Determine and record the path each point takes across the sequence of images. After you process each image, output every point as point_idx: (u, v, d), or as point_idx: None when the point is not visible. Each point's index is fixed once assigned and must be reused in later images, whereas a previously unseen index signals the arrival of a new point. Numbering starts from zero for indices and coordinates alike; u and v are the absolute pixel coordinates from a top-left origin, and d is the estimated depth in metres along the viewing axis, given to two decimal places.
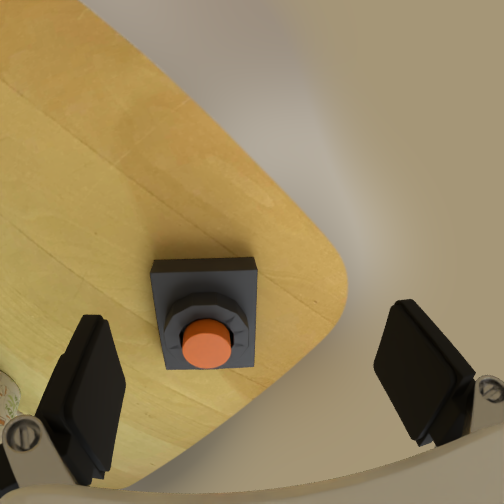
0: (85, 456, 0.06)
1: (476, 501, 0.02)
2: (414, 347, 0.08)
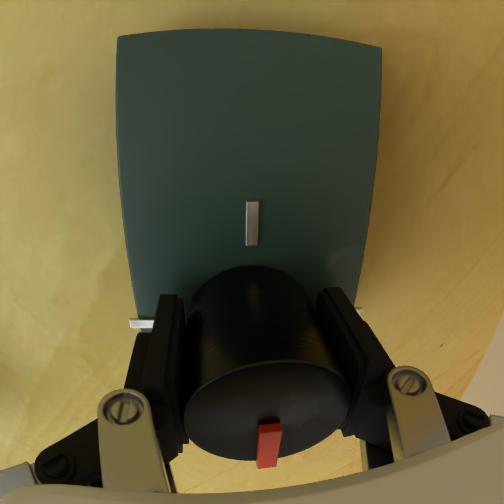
0: (174, 427, 0.07)
1: (476, 501, 0.02)
2: (333, 333, 0.09)
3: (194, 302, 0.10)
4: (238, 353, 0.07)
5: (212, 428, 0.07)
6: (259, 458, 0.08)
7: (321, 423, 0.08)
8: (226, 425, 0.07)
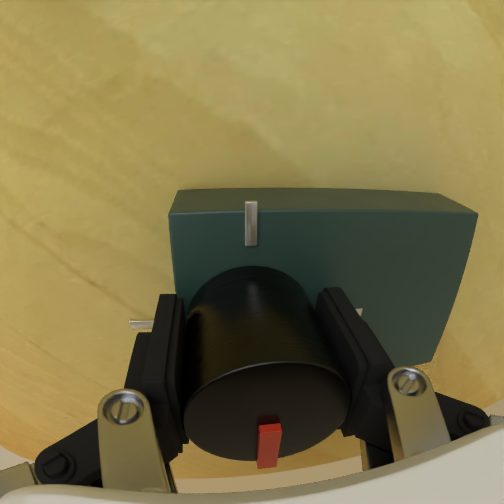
0: (174, 427, 0.07)
1: (476, 501, 0.02)
2: (333, 333, 0.09)
3: (194, 303, 0.10)
4: (237, 354, 0.07)
5: (212, 428, 0.07)
6: (259, 458, 0.08)
7: (321, 423, 0.08)
8: (226, 425, 0.07)
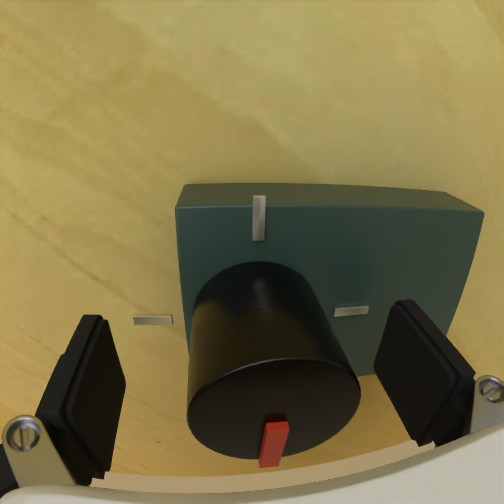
0: (85, 456, 0.06)
1: (476, 501, 0.02)
2: (414, 347, 0.08)
3: (201, 296, 0.10)
4: (251, 348, 0.07)
5: (218, 425, 0.07)
6: (263, 457, 0.07)
7: (327, 423, 0.08)
8: (232, 422, 0.07)
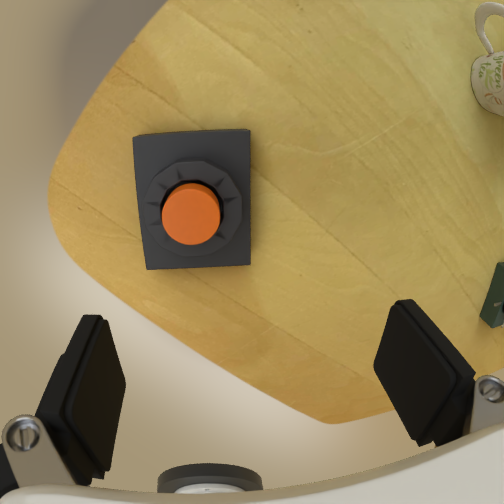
0: (86, 455, 0.06)
1: (476, 501, 0.02)
2: (414, 347, 0.08)
3: None
4: None
5: None
6: None
7: None
8: None
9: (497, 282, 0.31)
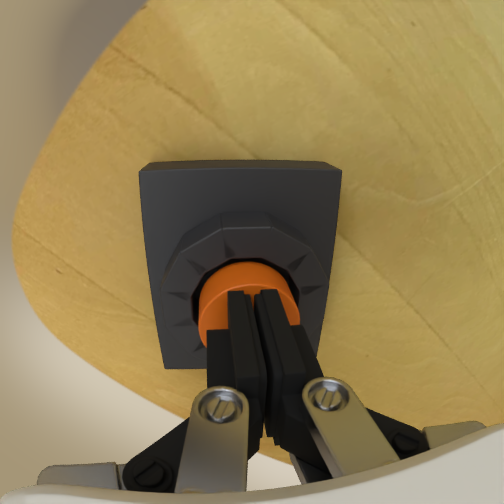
0: None
1: (476, 501, 0.02)
2: (261, 337, 0.09)
3: None
4: None
5: None
6: None
7: None
8: None
9: None
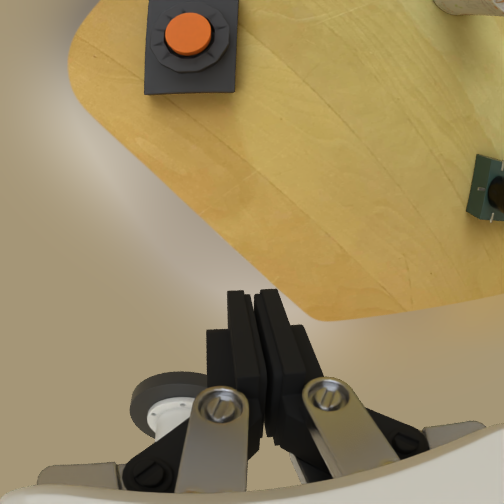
0: None
1: (476, 501, 0.02)
2: (261, 337, 0.09)
3: (494, 182, 0.31)
4: None
5: None
6: None
7: None
8: None
9: (479, 172, 0.33)
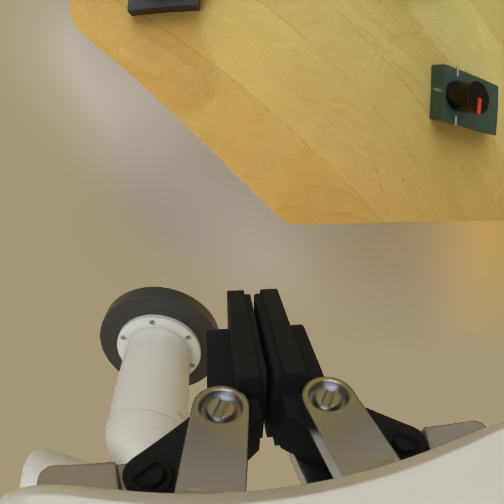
0: None
1: (476, 501, 0.02)
2: (261, 337, 0.09)
3: (450, 84, 0.31)
4: None
5: (471, 95, 0.29)
6: (478, 107, 0.29)
7: (485, 103, 0.29)
8: (473, 95, 0.29)
9: (435, 79, 0.34)
